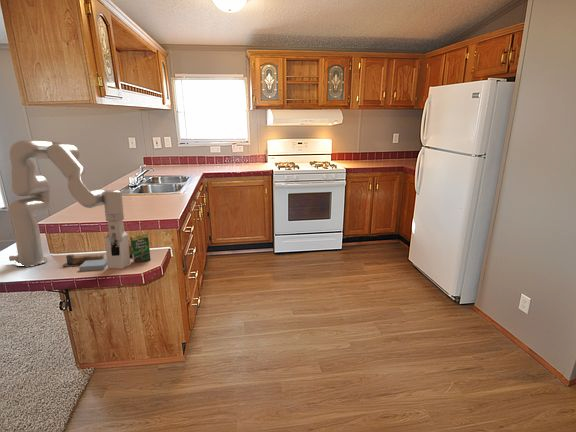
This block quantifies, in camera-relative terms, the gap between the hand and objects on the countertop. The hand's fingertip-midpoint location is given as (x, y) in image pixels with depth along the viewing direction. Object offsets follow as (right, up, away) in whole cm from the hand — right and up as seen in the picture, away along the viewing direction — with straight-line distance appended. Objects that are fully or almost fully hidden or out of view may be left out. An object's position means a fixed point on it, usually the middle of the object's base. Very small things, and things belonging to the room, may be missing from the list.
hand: (118, 252), depth 160 cm
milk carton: (0, -7, +1) cm, 7 cm away
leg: (-18, -5, +5) cm, 20 cm away
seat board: (-11, -7, 0) cm, 13 cm away
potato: (-3, -4, +19) cm, 19 cm away
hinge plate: (-24, -6, +3) cm, 25 cm away
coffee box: (+7, -5, +9) cm, 13 cm away
